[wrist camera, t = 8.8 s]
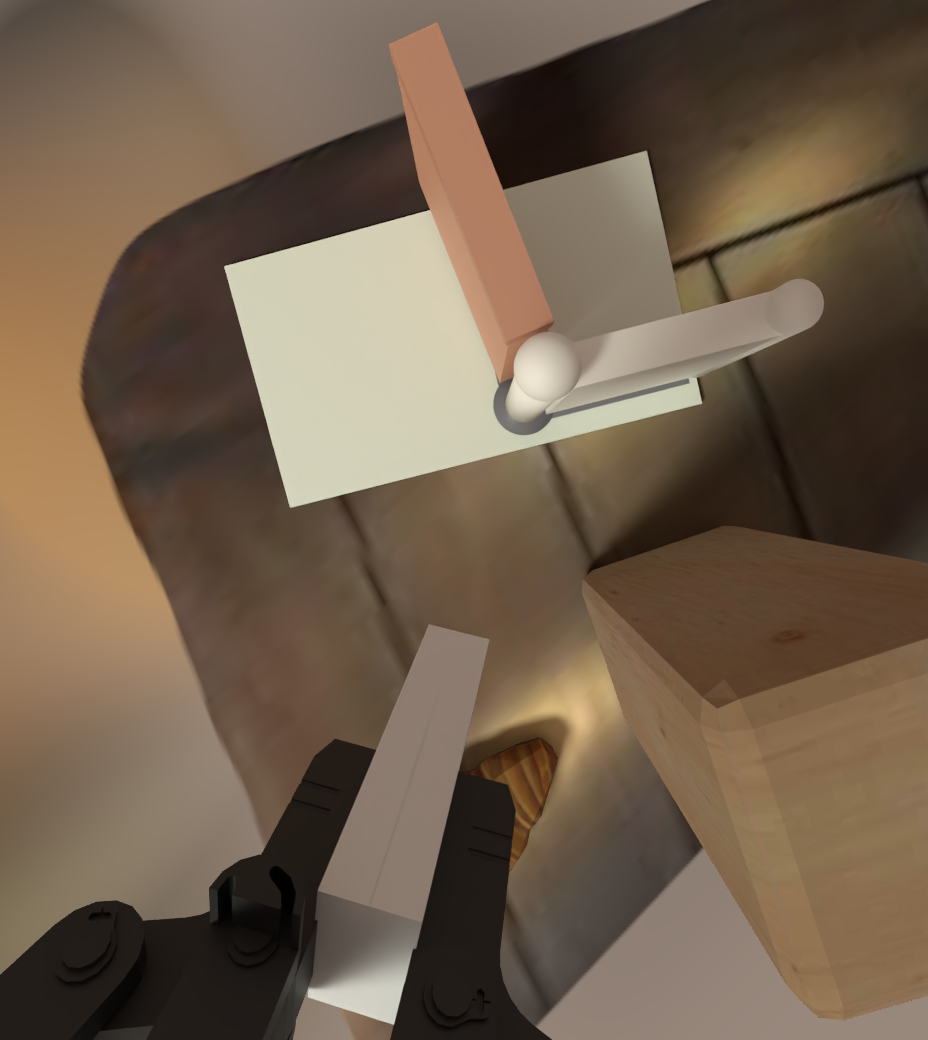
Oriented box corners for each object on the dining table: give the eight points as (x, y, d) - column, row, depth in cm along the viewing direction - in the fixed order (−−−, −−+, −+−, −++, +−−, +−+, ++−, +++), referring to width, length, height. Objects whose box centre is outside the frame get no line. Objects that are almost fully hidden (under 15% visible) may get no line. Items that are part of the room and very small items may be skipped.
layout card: (644, 154, 32) (647, 149, 32) (699, 404, 33) (702, 403, 33) (227, 268, 34) (223, 265, 33) (292, 507, 35) (289, 507, 34)
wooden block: (573, 572, 34) (703, 705, 15) (733, 518, 34) (1094, 578, 14) (625, 724, 35) (817, 1050, 15) (783, 673, 35) (1195, 941, 15)
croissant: (431, 914, 37) (424, 984, 32) (358, 840, 36) (338, 898, 31) (587, 777, 36) (605, 826, 31) (513, 699, 35) (518, 736, 30)
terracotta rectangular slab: (530, 370, 33) (554, 321, 22) (498, 383, 33) (507, 341, 22) (450, 169, 32) (437, 22, 22) (417, 183, 32) (388, 44, 22)
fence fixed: (707, 333, 33) (850, 244, 20) (717, 378, 33) (864, 317, 20) (497, 387, 33) (508, 334, 21) (507, 431, 33) (525, 404, 21)
